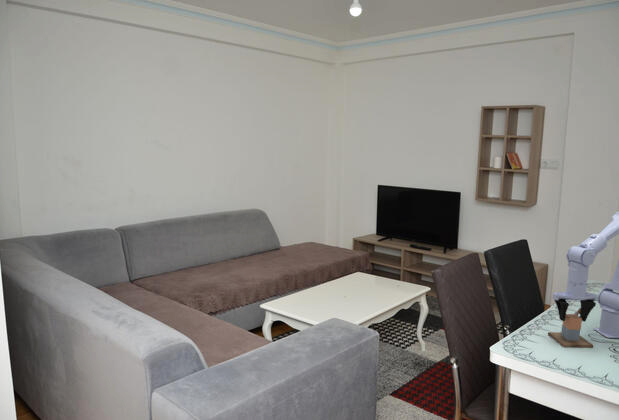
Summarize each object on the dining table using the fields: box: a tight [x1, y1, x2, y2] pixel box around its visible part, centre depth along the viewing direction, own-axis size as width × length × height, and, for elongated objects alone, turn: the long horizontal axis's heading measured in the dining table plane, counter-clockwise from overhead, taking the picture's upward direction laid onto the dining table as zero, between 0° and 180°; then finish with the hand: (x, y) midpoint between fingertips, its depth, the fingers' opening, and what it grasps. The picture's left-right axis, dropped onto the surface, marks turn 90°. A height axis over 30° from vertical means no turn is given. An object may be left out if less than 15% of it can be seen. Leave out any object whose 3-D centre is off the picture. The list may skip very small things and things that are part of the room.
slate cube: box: [560, 324, 581, 341], centre depth 161 cm, size 4×4×4 cm
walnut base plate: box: [547, 331, 594, 349], centre depth 161 cm, size 10×10×1 cm
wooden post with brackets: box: [573, 307, 581, 317], centre depth 181 cm, size 2×8×5 cm, turn 117°
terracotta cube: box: [562, 313, 583, 331], centre depth 160 cm, size 4×4×4 cm
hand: (572, 320), depth 160 cm, fingers open, 7 cm apart
